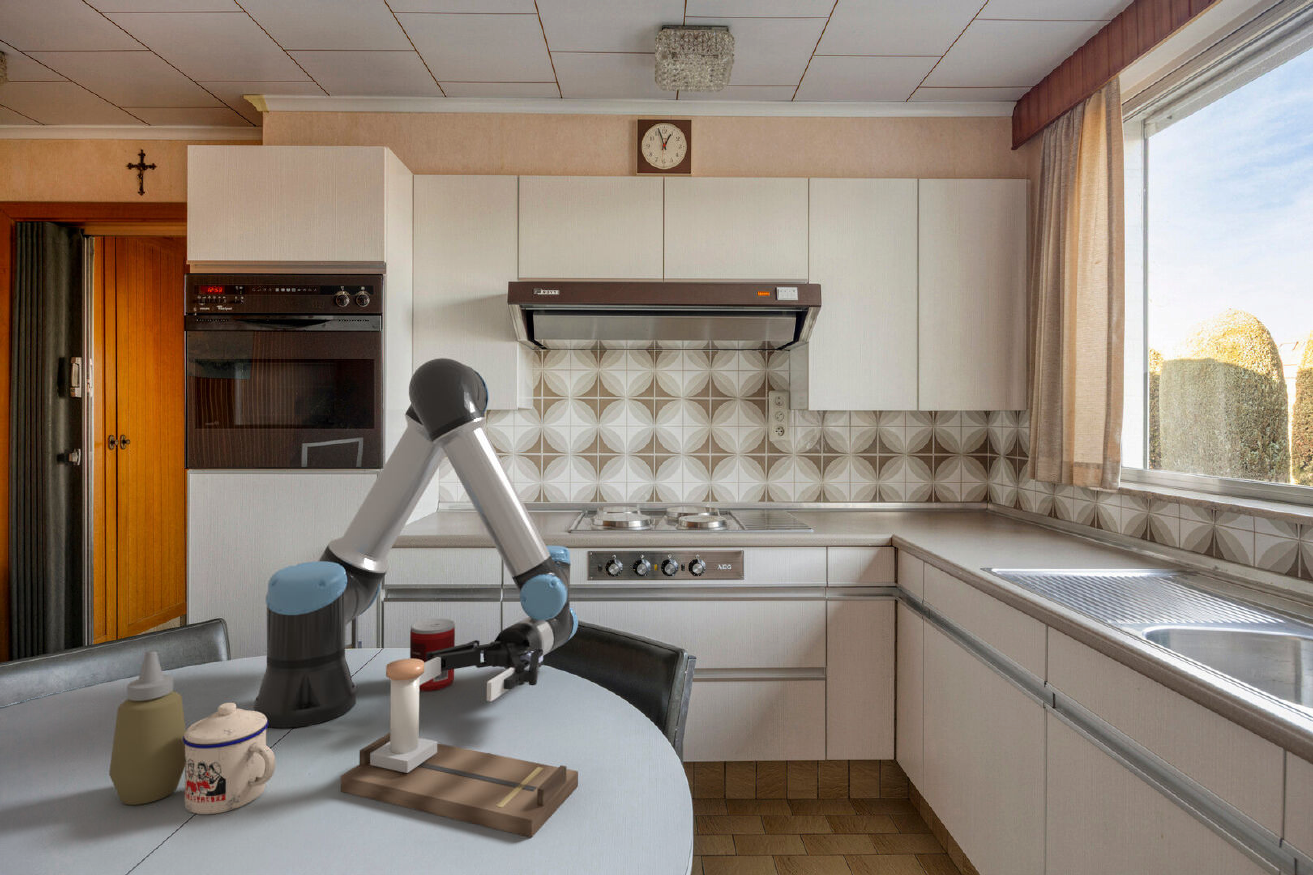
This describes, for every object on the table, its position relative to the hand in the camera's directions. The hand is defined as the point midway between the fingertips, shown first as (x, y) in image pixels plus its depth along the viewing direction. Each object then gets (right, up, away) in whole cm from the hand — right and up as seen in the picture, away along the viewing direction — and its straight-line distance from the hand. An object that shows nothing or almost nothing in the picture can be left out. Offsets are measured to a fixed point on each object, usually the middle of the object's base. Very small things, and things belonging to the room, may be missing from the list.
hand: (449, 685), depth 100 cm
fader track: (+5, -9, -12) cm, 16 cm away
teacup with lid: (-22, -9, -15) cm, 28 cm away
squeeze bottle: (-34, -9, -14) cm, 38 cm away
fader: (-3, -7, -9) cm, 12 cm away
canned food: (-11, -9, +25) cm, 28 cm away
